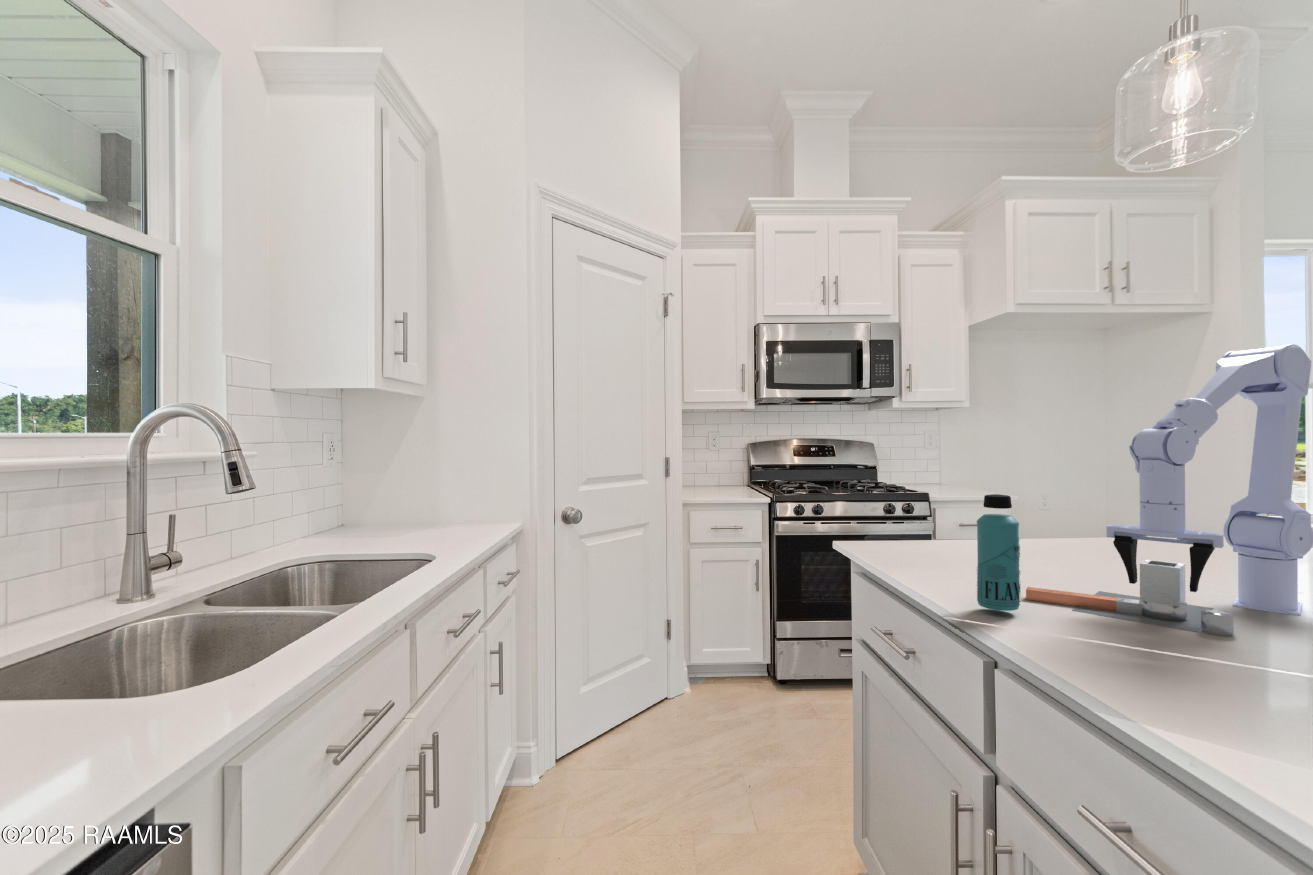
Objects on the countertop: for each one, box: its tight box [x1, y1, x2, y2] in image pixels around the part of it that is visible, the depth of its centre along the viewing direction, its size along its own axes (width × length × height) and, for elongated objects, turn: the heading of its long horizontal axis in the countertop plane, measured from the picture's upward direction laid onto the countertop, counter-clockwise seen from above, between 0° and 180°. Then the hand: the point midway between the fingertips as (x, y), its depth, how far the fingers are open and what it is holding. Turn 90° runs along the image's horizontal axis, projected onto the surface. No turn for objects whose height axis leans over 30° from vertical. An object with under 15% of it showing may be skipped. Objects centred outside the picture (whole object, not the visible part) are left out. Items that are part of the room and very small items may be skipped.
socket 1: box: [1139, 559, 1186, 607], centre depth 100 cm, size 5×5×6 cm
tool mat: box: [1071, 590, 1214, 633], centre depth 104 cm, size 18×16×1 cm
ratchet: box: [1025, 586, 1188, 622], centre depth 105 cm, size 22×6×4 cm, turn 52°
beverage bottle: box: [975, 493, 1022, 612], centre depth 103 cm, size 6×7×20 cm
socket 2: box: [1200, 609, 1235, 638], centre depth 92 cm, size 4×4×3 cm
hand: (1162, 586), depth 100 cm, fingers open, 7 cm apart
